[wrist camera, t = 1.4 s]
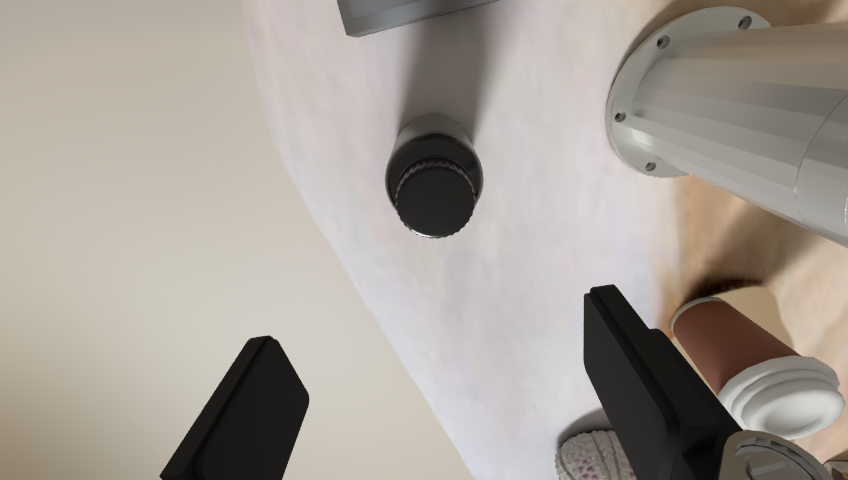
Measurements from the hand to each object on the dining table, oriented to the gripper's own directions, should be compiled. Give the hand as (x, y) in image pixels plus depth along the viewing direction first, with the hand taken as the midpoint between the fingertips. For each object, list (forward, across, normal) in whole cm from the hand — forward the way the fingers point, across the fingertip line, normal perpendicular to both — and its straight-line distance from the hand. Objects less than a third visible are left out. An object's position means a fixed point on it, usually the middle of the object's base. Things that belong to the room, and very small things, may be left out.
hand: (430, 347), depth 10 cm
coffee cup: (+24, -26, +25) cm, 43 cm away
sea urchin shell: (+24, -15, +49) cm, 56 cm away
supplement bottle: (+23, 0, 0) cm, 23 cm away
